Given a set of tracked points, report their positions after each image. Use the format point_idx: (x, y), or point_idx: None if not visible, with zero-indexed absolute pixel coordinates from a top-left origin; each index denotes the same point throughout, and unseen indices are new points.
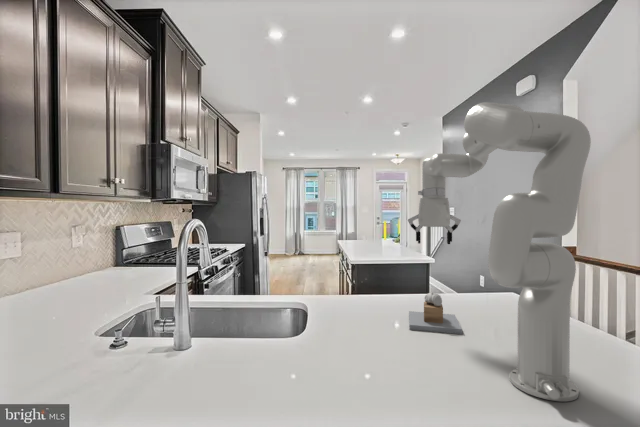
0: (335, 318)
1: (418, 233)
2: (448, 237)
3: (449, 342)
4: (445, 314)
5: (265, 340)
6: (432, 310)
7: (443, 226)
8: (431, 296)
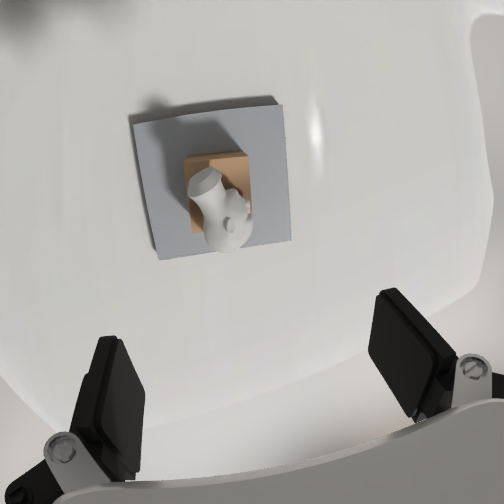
0: (451, 142)
1: (445, 344)
2: (103, 382)
3: (169, 45)
4: (184, 250)
5: (497, 7)
6: (219, 157)
7: (135, 482)
8: (227, 202)
